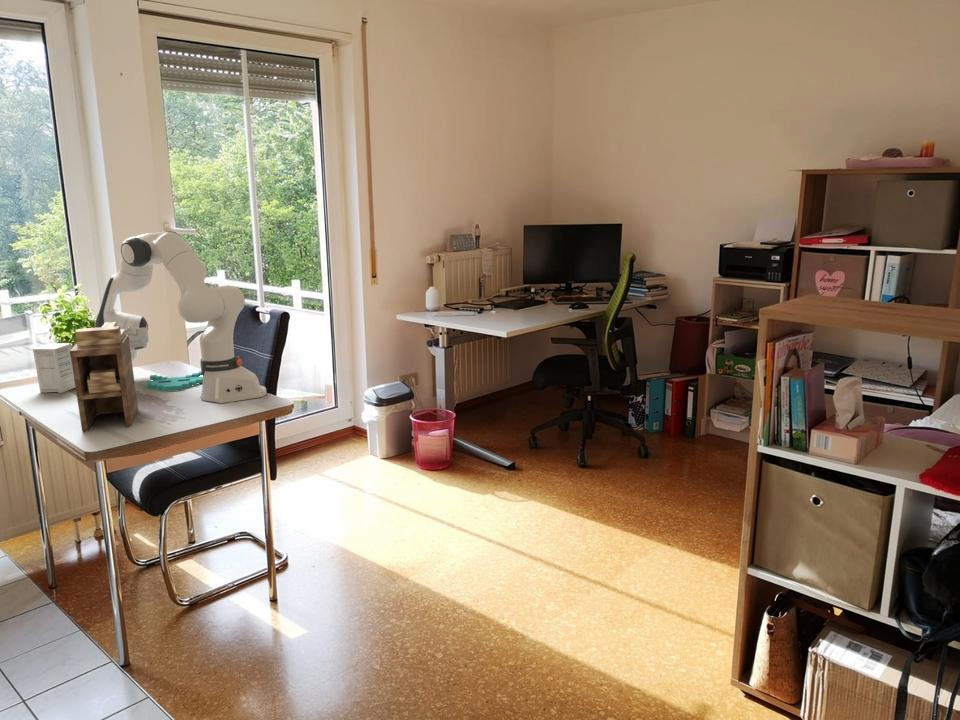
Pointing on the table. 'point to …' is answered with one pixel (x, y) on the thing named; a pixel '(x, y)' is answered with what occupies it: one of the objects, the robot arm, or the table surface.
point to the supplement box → (54, 367)
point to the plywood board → (109, 341)
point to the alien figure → (173, 382)
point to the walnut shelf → (104, 381)
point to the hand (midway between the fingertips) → (114, 329)
